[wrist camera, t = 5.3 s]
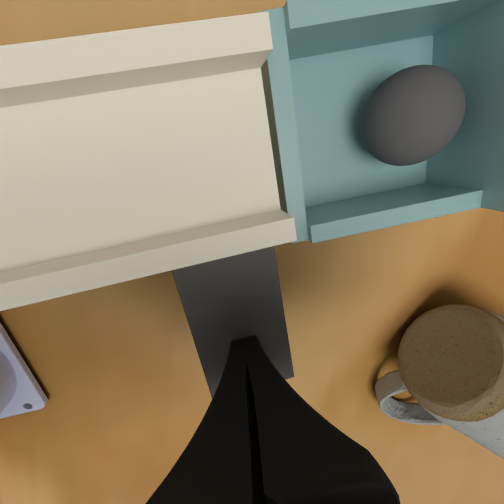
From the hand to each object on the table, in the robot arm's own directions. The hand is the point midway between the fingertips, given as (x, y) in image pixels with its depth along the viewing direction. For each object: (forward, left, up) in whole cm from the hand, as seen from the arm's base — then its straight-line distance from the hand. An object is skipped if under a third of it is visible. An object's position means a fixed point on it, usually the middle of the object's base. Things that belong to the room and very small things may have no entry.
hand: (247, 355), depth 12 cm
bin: (+8, +8, -5) cm, 13 cm away
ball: (+9, +8, -3) cm, 13 cm away
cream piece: (-5, +5, -1) cm, 7 cm away
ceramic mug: (+13, -9, -6) cm, 17 cm away
